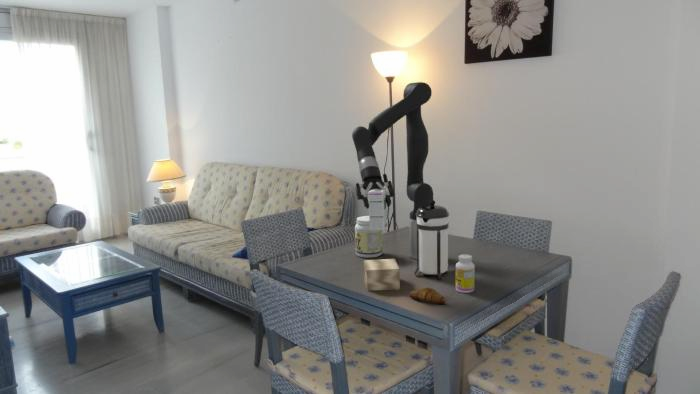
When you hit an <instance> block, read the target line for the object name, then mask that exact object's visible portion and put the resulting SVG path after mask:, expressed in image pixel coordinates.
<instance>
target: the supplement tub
mask: <svg viewBox="0 0 700 394" xmlns="http://www.w3.org/2000/svg"><path fill="white" fill-rule="evenodd" d="M355 222H356V224H355V225H354V244H355V245H354V247H355V254H356V256H358V257H360V258H364V259H371V258H372V259H373V258H378V257H379V256H381V255H383V230H370V223H369V215H363V216H358V217H356V221H355Z"/></svg>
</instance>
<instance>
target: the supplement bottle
mask: <svg viewBox="0 0 700 394" xmlns="http://www.w3.org/2000/svg"><path fill="white" fill-rule="evenodd" d="M472 261H473V256H472V255H471V254H467V253H465V254H463V253H462V254H460V255H458V262H456V264H455V290H456V291H457V292H459V293H461V294H468V293H473V292H474V291H475V270H476V268H475V267H476V266H475V263H473V262H472Z"/></svg>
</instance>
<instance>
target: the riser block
mask: <svg viewBox="0 0 700 394" xmlns="http://www.w3.org/2000/svg"><path fill="white" fill-rule="evenodd" d="M363 274H364V275H363V277H364V283H365V288H366V291H368V292H369V291H384V290H388V291H389V290H400V289H401V288H400V287H401V284H400V282H401V281H400V280H401V279H400V278H401V277H400V274H401V273H400V267H399V265H398V263H397V261H396V258H385V259H383V258H380V259H364V260H363Z"/></svg>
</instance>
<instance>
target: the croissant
mask: <svg viewBox="0 0 700 394" xmlns="http://www.w3.org/2000/svg"><path fill="white" fill-rule="evenodd" d="M409 297H410V298H411V299H413V300H416V301H420V302H422V303H428V304H429V303H430V304H434V305H445V304H446V302H447V300H446V298H445V297H444V296H443V295H442V294H440V293H439V292H437V291H436V290H435V289H434V288H432V287H427V286H426V287H423V288H421V289H415V290H412V291H410V292H409Z"/></svg>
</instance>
